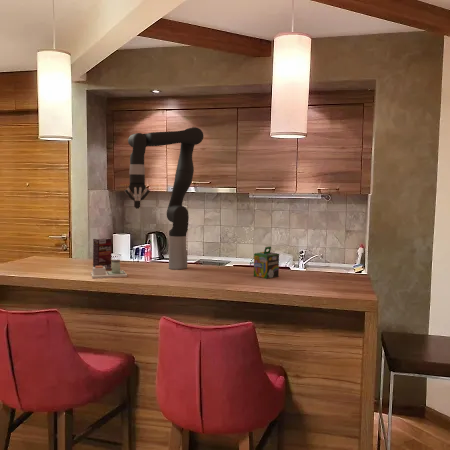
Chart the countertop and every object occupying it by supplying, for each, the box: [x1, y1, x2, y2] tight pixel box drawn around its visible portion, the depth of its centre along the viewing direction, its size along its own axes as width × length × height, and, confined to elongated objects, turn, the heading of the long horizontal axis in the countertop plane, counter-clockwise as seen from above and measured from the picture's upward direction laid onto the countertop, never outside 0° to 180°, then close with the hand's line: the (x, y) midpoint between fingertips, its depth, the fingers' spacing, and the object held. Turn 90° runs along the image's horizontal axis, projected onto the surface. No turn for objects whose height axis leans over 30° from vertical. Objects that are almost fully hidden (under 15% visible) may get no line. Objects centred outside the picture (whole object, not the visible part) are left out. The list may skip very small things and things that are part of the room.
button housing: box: [92, 266, 107, 275], centre depth 232 cm, size 6×6×3 cm
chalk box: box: [253, 246, 280, 280], centre depth 237 cm, size 9×9×15 cm
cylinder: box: [111, 259, 121, 273], centre depth 235 cm, size 4×4×6 cm
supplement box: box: [92, 237, 112, 270], centre depth 251 cm, size 9×5×16 cm, turn 143°
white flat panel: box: [90, 269, 128, 279], centre depth 234 cm, size 16×12×1 cm
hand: (137, 208), depth 243 cm, fingers closed
